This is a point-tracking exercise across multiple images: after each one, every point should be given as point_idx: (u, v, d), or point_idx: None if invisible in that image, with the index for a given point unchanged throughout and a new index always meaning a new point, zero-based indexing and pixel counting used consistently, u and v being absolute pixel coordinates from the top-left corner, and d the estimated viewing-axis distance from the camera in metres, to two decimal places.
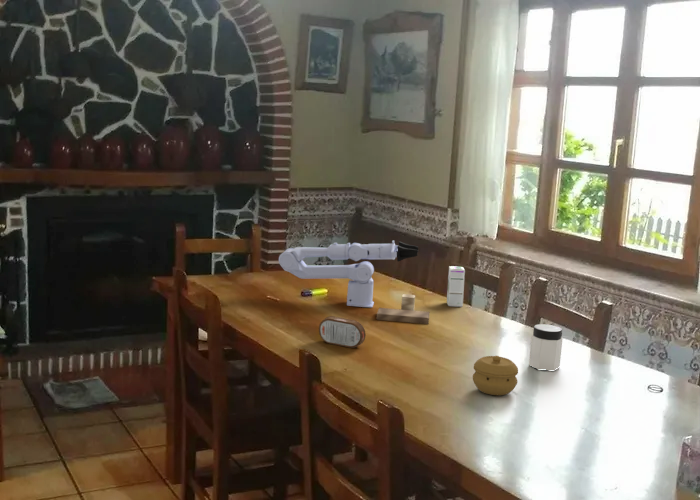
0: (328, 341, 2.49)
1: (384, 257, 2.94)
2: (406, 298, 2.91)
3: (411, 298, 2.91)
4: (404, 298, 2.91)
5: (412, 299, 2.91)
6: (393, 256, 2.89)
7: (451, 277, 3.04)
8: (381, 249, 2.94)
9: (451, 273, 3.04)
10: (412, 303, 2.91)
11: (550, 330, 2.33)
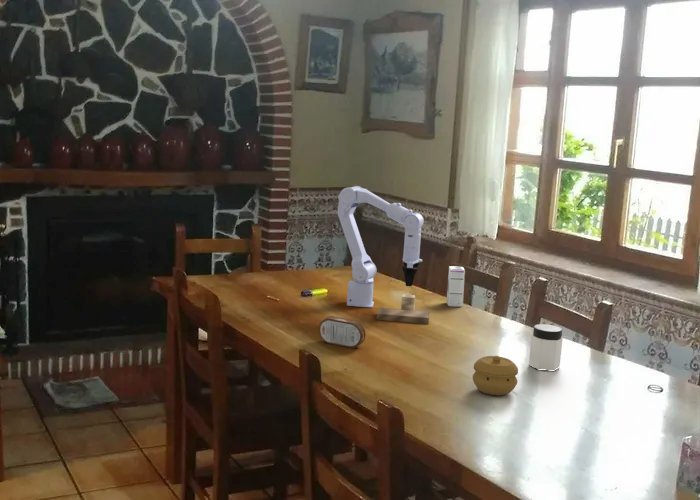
0: (328, 341, 2.49)
1: (406, 251, 2.88)
2: (406, 298, 2.91)
3: (411, 298, 2.91)
4: (404, 298, 2.91)
5: (412, 299, 2.91)
6: (408, 264, 2.84)
7: (451, 277, 3.04)
8: (414, 249, 2.87)
9: (451, 273, 3.04)
10: (412, 303, 2.91)
11: (550, 330, 2.33)
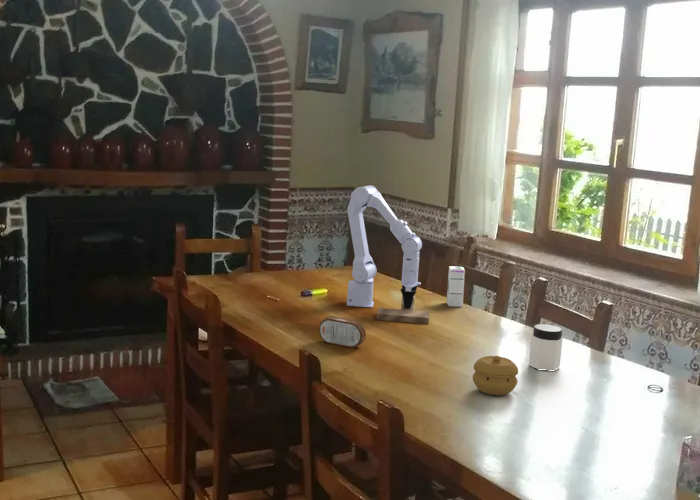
0: (328, 341, 2.49)
1: (404, 274, 2.90)
2: None
3: None
4: None
5: None
6: (406, 288, 2.85)
7: (451, 277, 3.04)
8: (413, 273, 2.89)
9: (451, 273, 3.04)
10: (412, 303, 2.91)
11: (550, 330, 2.33)
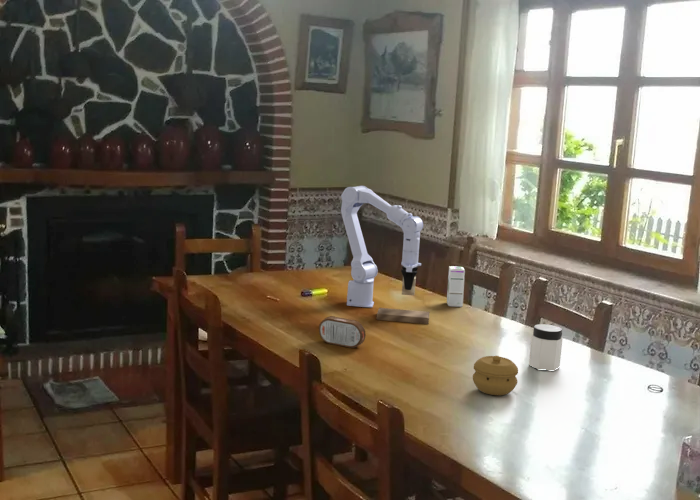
0: (328, 341, 2.49)
1: (405, 255, 2.86)
2: None
3: None
4: None
5: (413, 280, 2.87)
6: (407, 268, 2.81)
7: (451, 277, 3.04)
8: (413, 253, 2.85)
9: (451, 273, 3.04)
10: (413, 284, 2.87)
11: (550, 330, 2.33)
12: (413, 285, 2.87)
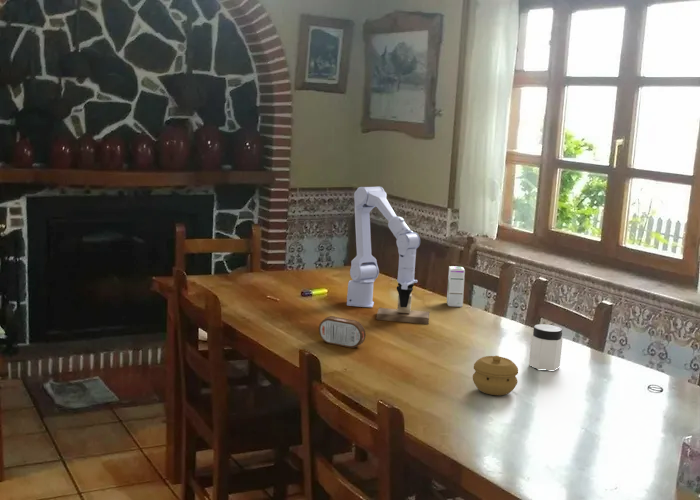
0: (328, 341, 2.49)
1: (400, 272, 2.79)
2: None
3: None
4: None
5: (409, 298, 2.80)
6: (402, 286, 2.75)
7: (451, 277, 3.04)
8: (409, 270, 2.78)
9: (451, 273, 3.04)
10: (409, 302, 2.81)
11: (550, 330, 2.33)
12: (409, 303, 2.81)
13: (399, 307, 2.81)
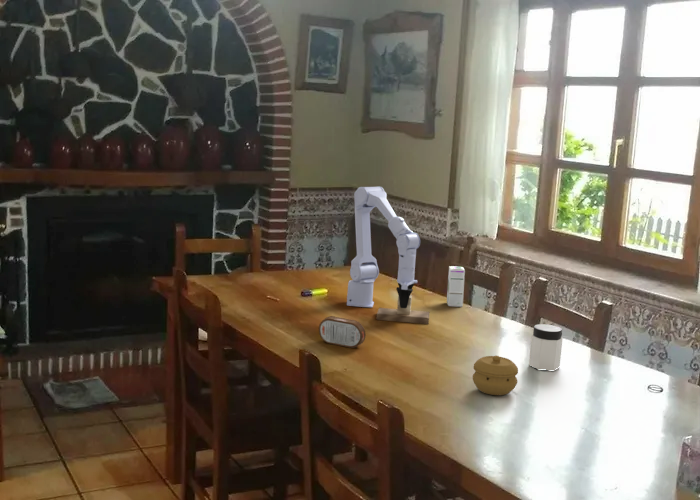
0: (328, 341, 2.49)
1: (400, 272, 2.79)
2: None
3: None
4: None
5: (409, 299, 2.80)
6: (402, 286, 2.75)
7: (451, 277, 3.04)
8: (409, 270, 2.78)
9: (451, 273, 3.04)
10: (409, 303, 2.81)
11: (550, 330, 2.33)
12: (409, 304, 2.81)
13: (399, 309, 2.81)
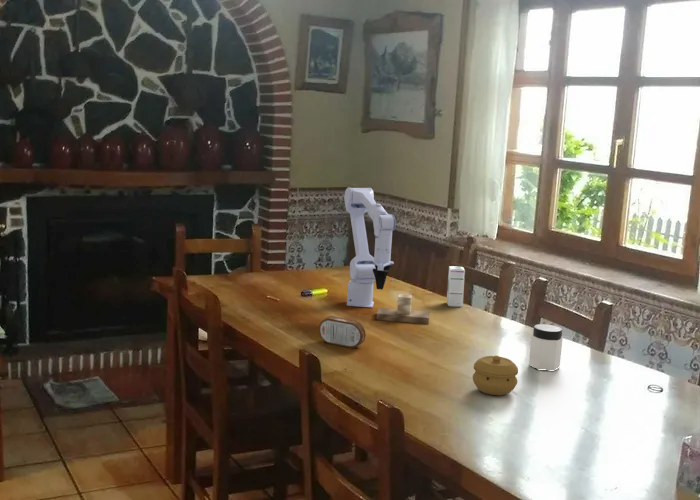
0: (328, 341, 2.49)
1: (376, 253, 2.81)
2: (402, 298, 2.81)
3: (407, 298, 2.81)
4: (400, 298, 2.81)
5: (409, 299, 2.80)
6: (378, 267, 2.76)
7: (451, 277, 3.04)
8: (385, 251, 2.80)
9: (451, 273, 3.04)
10: (409, 303, 2.81)
11: (550, 330, 2.33)
12: (409, 304, 2.81)
13: (399, 309, 2.81)
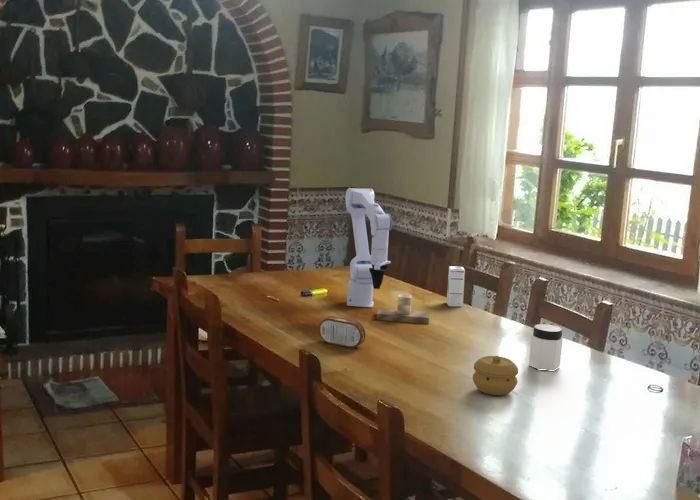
0: (328, 341, 2.49)
1: (373, 253, 2.81)
2: (402, 298, 2.81)
3: (407, 298, 2.81)
4: (400, 298, 2.81)
5: (409, 299, 2.80)
6: (375, 266, 2.77)
7: (451, 277, 3.04)
8: (382, 251, 2.80)
9: (451, 273, 3.04)
10: (409, 303, 2.81)
11: (550, 330, 2.33)
12: (409, 304, 2.81)
13: (399, 309, 2.81)
